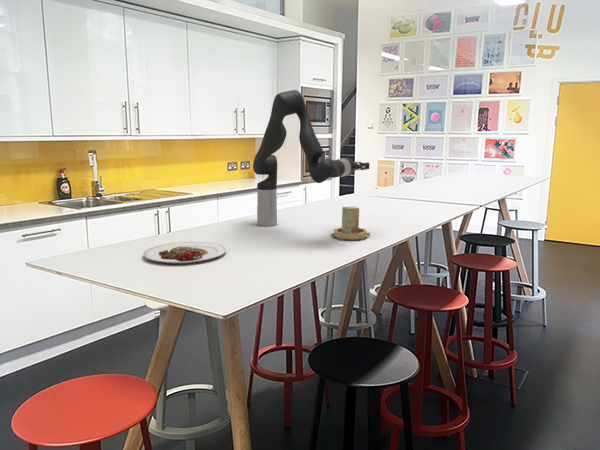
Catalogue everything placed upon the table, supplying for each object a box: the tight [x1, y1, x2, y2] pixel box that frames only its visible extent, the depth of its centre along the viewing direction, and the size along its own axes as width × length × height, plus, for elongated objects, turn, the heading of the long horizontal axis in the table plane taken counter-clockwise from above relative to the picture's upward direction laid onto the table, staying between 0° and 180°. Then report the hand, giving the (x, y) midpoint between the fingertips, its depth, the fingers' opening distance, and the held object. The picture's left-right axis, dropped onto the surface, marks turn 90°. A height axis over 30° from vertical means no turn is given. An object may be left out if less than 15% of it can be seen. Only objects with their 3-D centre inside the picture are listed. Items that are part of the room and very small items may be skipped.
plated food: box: [142, 241, 227, 264], centre depth 187 cm, size 30×30×3 cm
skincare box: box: [341, 206, 360, 233], centre depth 214 cm, size 6×4×12 cm
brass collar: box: [330, 227, 371, 239], centre depth 215 cm, size 16×13×2 cm
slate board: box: [337, 237, 366, 241], centre depth 215 cm, size 11×11×1 cm
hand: (359, 164), depth 225 cm, fingers open, 8 cm apart
